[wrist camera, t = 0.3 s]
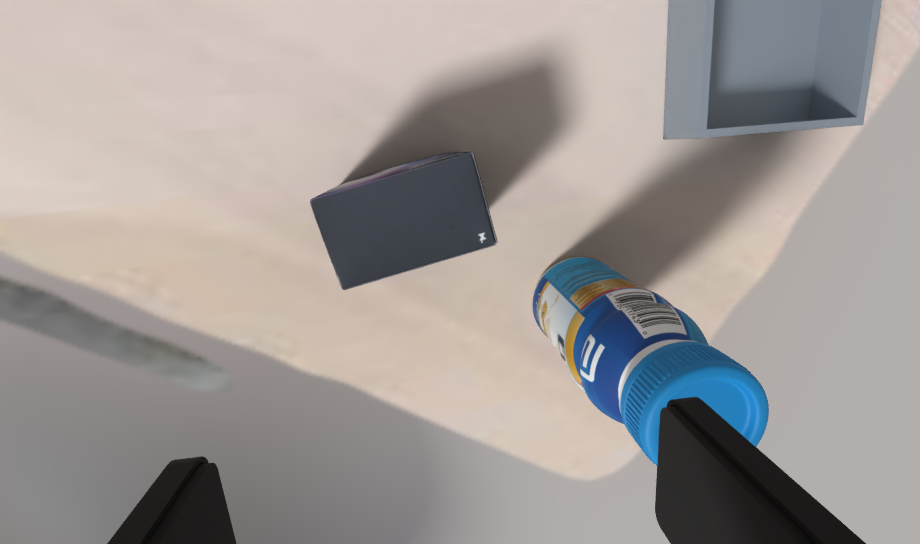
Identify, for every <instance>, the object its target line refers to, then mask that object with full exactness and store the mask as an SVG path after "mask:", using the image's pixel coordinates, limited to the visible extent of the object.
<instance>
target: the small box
mask: <svg viewBox="0 0 920 544" xmlns="http://www.w3.org/2000/svg"><path fill="white" fill-rule="evenodd" d="M310 204H311V207H312V210H313V213H314V216H315V219H316V221H317V224H318V227H319V229H320V232H321V235H322V238H323V241H324V243H325V246H326V248H327V251H328V254H329V256H330V259H331V262H332V264H333V267H334V269H335V272H336V275H337V277H338V280H339V283H340V285H341V288H342V289H343V290H347V289H350V288H353V287H357V286H360V285H363V284H367V283H370V282H374V281H377V280H380V279H383V278H387V277H390V276H394V275H397V274H400V273H404V272H407V271H411V270H414V269H418V268H421V267H424V266H427V265H431V264H434V263H437V262H440V261H444V260H448V259H451V258H454V257H458V256H461V255H465V254H468V253H471V252H474V251H478V250H481V249H484V248H488V247H491V246H494V245H496V243H497V238H496V235H495V231H494V228H493V224H492V220H491V216H490V212H489V208H488V205H487V202H486V198H485V194H484V190H483V186H482V182H481V179H480V176H479V171H478V168H477V164H476V160H475V157H474V154H473V153H472V152H453V153H447V154H441V155H437V156H433V157H429V158H425V159H422V160H418V161H415V162H411V163H407V164H404V165H400V166H396V167H392V168H389V169H386V170H382V171H379V172H376V173H373V174H370V175H367V176H363V177H360V178H357V179H354V180H351V181H349V182H346V183H344V184H341V185H339V186H337V187H335V188H333V189H330V190H328V191H327V192H325V193H323V194H321V195H318V196H317V197H315V198H313V199H311V200H310Z"/></svg>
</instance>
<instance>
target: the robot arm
mask: <svg viewBox="0 0 920 544" xmlns="http://www.w3.org/2000/svg"><path fill="white" fill-rule="evenodd" d="M655 513H656V517H657V521H658V523H659V526H660V528H661V529H662V531H663V532H664V534H665V536H666V537H667V538H668V540H669V542H670V543H671V544H866V543H865V542H863V541H862V540H861V539H860V538H859V537H858V536H857V535H856V534H854V533H853V532H852V531H851V530H850V529H848V527H846V526H845V525H844V524H843V523H842V522H841V521H840V520H838V519H837V518H836V517H835V516H834V515H833V514H832V513H830V512H829V511H828V510H827V509H826V508H825V507H824V506H822V505H821V504H820V503H819V502H818V501H817V500H815V499H814V498H813V497H812V496H811V495H810V494H809V493H807V492H806V491H805V490H804V489H803V488H802V487H801V486H800V485H798V484H797V483H796V482H795V481H794V480H793V479H792V478H790V477H789V476H788V475H787V474H786V473H785V472H783V471H782V470H781V469H780V468H779V467H778V466H777V465H776V464H774V463H773V462H772V461H771V460H770V459H769V458H768V457H766V456H765V455H764V454H763V453H762V452H761V451H759V449H757V448H756V447H755V446H754V445H753V444H752V443H751V442H749V441H748V440H747V439H746V438H745V437H744V436H743V435H741V434H740V433H739V432H738V431H737V430H736V429H735V428H733V427H732V426H731V425H730V424H729V423H728V422H727V421H725V420H724V419H723V418H722V417H721V416H720V415H719V414H717V413H716V412H715V411H714V410H713V409H712V408H711V407H709V406H708V405H707V404H706V403H705V402H704V401H703V400H701V399H700V398H698V397H688V398H680V399H672V400H670V401H668V403H667V407H664V408H662V409H661V412H660V425H659V444H658V464H657V483H656V503H655ZM108 544H236V540H235V536H234V533H233V528H232V524H231V520H230V517H229V512H228V508H227V504H226V500H225V496H224V492H223V488H222V484H221V480H220V476H219V472H218V468H217V466H216V465H215V464H214V463H208V460H207V459H206V458H205V457H195V458H187V459H179V460H173V461H171V462H170V463H169V464H168V465H167V466H166V467H165V469H164V470H163V471H162V473H161V474H160V475H159V477H158V478H157V479H156V481H155V482H154V483H153V485H152V486H151V487H150V488H149V490H148V491H147V492H146V494H145V495H144V497H143V498H142V499H141V500H140V502H139V503H138V504H137V506H136V507H135V508H134V509H133V511H132V512H131V513H130V515H129V516H128V517H127V519H126V520H125V521H124V523H123V524H122V525H121V527H120V528H119V529H118V530H117V532H116V533H115V534H114V536H113V537H112V538H111V540H110V541H109V542H108Z"/></svg>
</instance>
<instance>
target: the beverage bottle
mask: <svg viewBox="0 0 920 544" xmlns="http://www.w3.org/2000/svg"><path fill="white" fill-rule="evenodd" d="M532 310H533V315H534V318H535V320H536V322H537V324H538V326H539V327H540V329H541V330H542V332H543V333H544V334H545V335H546V336H547V337H548V338H549V339H550V341H551V342H552V343H553V345H554V346H555V348H556V349H557V351H558V352H559V354H560V355H561V356H562V358H563V359H564V361H565V363H566V366H567V369H568V371H569V373H570V375H571V376H572V378H573V380H574V381H575V382H576V383H577V385H578V386H579V387H580V388H581V389H582V390H583V391H584V392H585V393H586V394H587V396H588V398H589V399H590V400H591V402H592V403H593V404H594V405H595V406H596V407H597V408H598V409H599V410H600V411H601V412H603V413H604V414H605V415H607V416H609V417H610V418H612V419H614V420H616V421H618V422H620V423H623V424H625V426H626V428H627V430H628V431H629V433H630V434H631V436H632V437H633V438H634V440H635V441H636V442H637V444H638V445H639V446H640V448H641V449H642V450H643V452H644V453H645V454H646V456H647V457H648V458H649V459H650V460H652V462H653V463H654V464H656V465H657V464H658V444H659V425H660V412H661V409H662V408H664V407H667V403H668V401H670V400H672V399H680V398H688V397H698V398H700V399H701V400H703V401H704V402H705V403H706V404H707V405H708V406H709V407H711V408H712V409H713V410H714V411H715V412H716V413H717V414H719V415H720V416H721V417H722V418H723V419H724V420H725V421H727V422H728V423H729V424H730V425H731V426H732V427H733V428H735V429H736V430H737V431H738V432H739V433H740V434H741V435H743V436H744V437H745V438H746V439H747V440H748V441H749V442H751V443H752V444H753V445H754V446H755V447H756V446H757V444H758V443H759V442H760V440H761V438H762V436H763V434H764V431H765V428H766V425H767V421H768V413H769V411H768V410H769V408H768V400H767V397H766V394H765V391H764V389H763V387H762V386H761V384H760V383H759V382H758V380H757V379H756V378H755V377H754V376H753V375H752V374H751V372H749V371H748V370H747V369H746V368H745V367H743V366H742V365H740V364H739V363H737V362H736V361H734V360H733V359H731V358H730V357H728V356H727V355H725V354H723V353H722V352H720V351H719V350H717V349H715V348H714V347H712V346H709V345H708V343H707V340H706V338H705V336H704V335H703V333H702V331H701V330H700V328H699V327H698V326H697V324H696V323H695V322H694V321H693V320H692V319H691V318H690V317H689V316H688V315H686V314H685V313H684V312H682V311H680V310H679V309H677V308H674V307H673V306H672V305H671V304H670V303H669V302H668V301H667V300H665V299H664V298H663V297H661V296H660V295H658V294H656V293H654V292H652V291H649V290H647V289H644V288H642V287H640V286H638V285H637V284H635V283H633V282H632V281H630V280H628V279H627V278H625V277H623V276H622V275H620V274H618V273H617V272H615V271H613V270H612V269H611V268H609V267H608V266H606V265H605V264H603V263H602V262H600V261H598V260H595V259H592V258H587V257H574V258H569V259H565V260H563V261H560V262H558V263H556V264H555V265H553V266H552V267H551V268H549V269H548V270H547V271H546V272H545V273H544V274H543V275H542V277H541V278H540V280H539V281H538V283H537V285H536V287H535V290H534V293H533V298H532Z"/></svg>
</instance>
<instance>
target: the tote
mask: <svg viewBox="0 0 920 544" xmlns="http://www.w3.org/2000/svg"><path fill="white" fill-rule="evenodd" d="M881 1H882V0H669V8H668V34H667V59H666V85H665V111H664V137H663V139H699V138H711V137H723V136H735V135H747V134H758V133H770V132H782V131H794V130H806V129H818V128H830V127H842V126H854V125H863V122H864V115H865V109H866V102H867V95H868V88H869V82H870V75H871V68H872V62H873V55H874V48H875V42H876V35H877V28H878V21H879V15H880V8H881Z"/></svg>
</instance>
